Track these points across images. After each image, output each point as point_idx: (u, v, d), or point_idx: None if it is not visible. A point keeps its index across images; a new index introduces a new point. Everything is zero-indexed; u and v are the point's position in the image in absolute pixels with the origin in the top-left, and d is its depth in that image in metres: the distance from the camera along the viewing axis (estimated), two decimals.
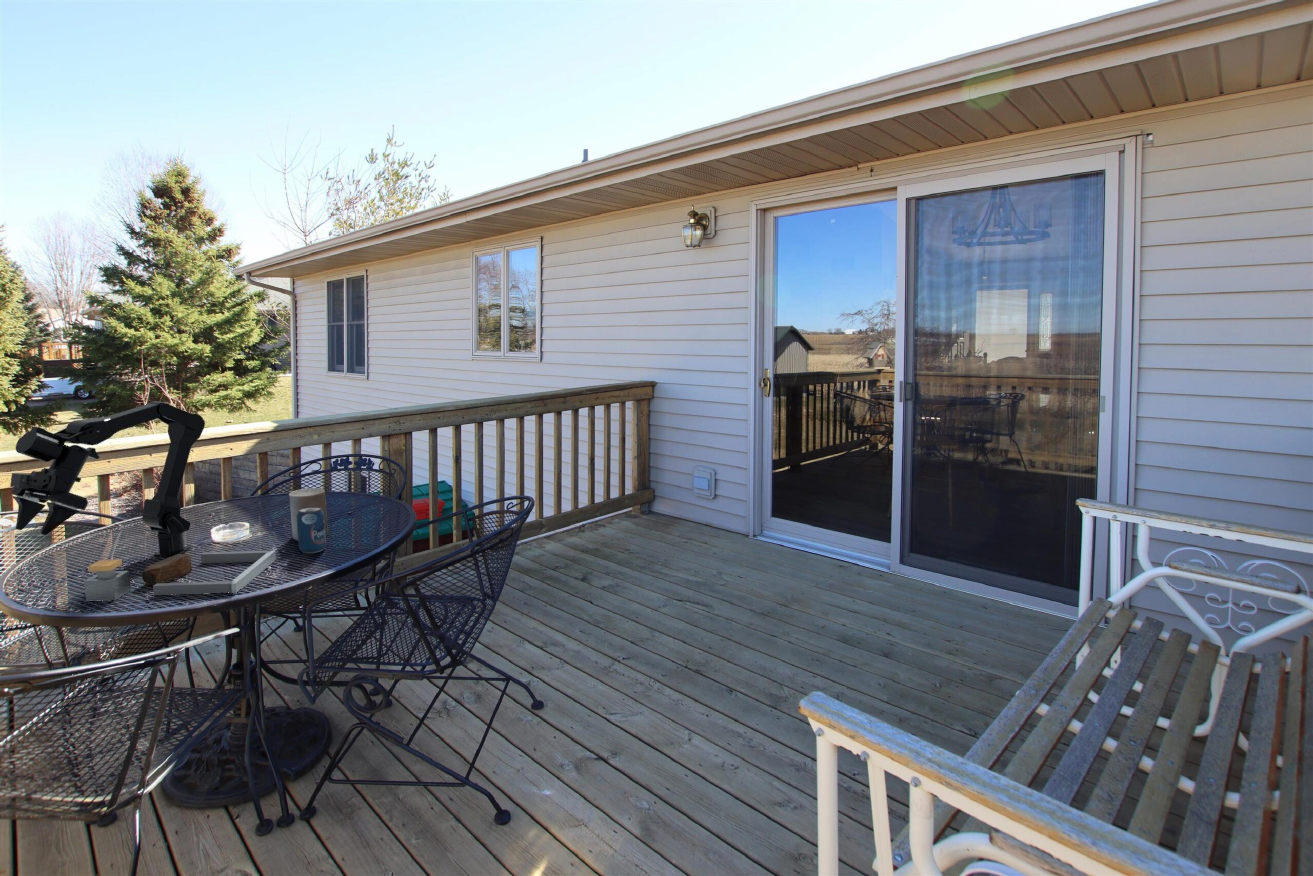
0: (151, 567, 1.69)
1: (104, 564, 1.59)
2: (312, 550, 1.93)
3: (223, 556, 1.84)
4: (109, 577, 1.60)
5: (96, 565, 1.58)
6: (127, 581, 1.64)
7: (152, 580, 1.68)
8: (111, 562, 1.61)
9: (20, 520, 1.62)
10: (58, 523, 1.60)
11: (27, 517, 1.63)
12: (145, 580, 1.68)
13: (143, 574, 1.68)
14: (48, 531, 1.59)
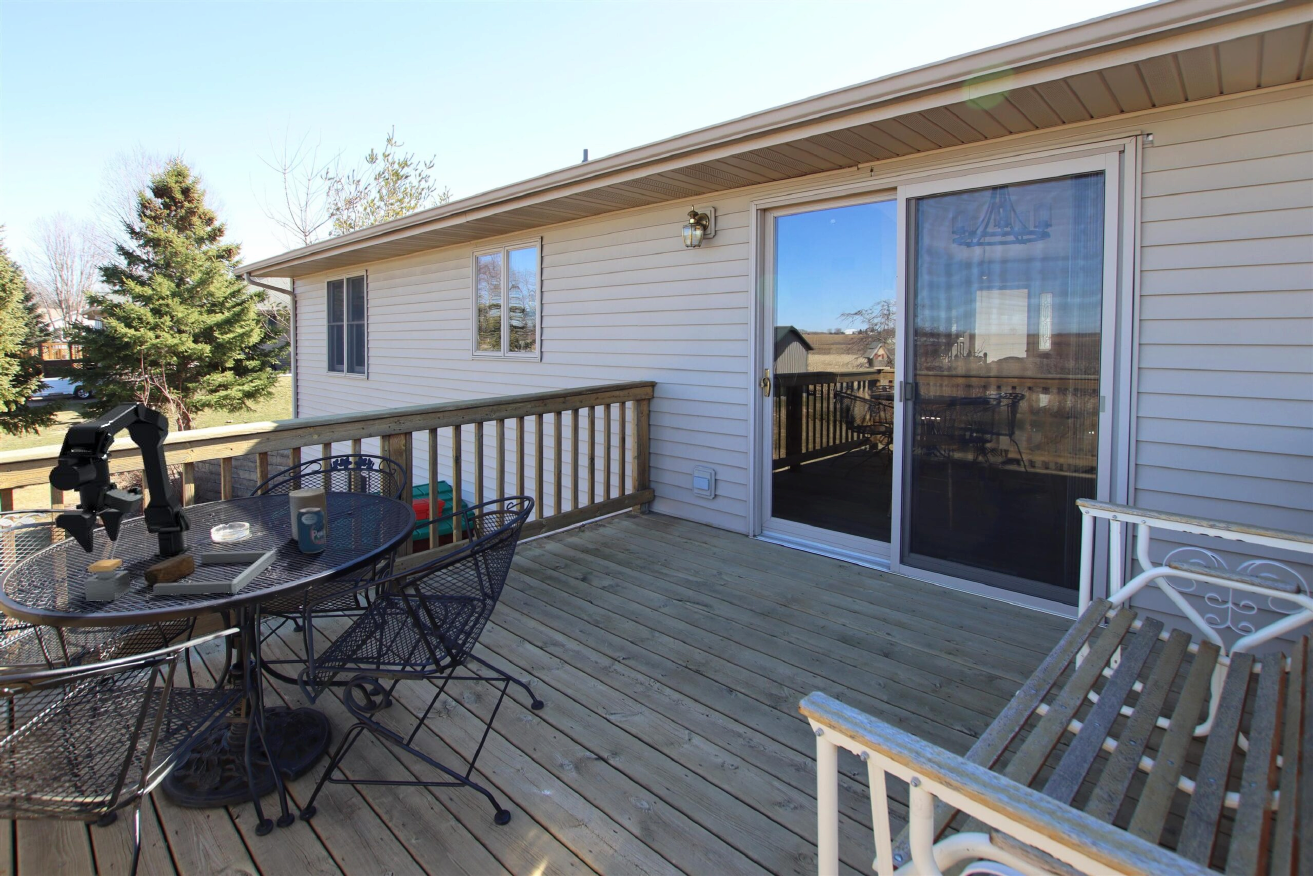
0: (153, 567, 1.68)
1: (104, 564, 1.59)
2: (312, 550, 1.93)
3: (223, 556, 1.84)
4: (109, 577, 1.60)
5: (96, 565, 1.58)
6: (127, 581, 1.64)
7: (154, 581, 1.68)
8: (111, 562, 1.61)
9: None
10: None
11: None
12: (147, 580, 1.68)
13: (145, 574, 1.68)
14: None
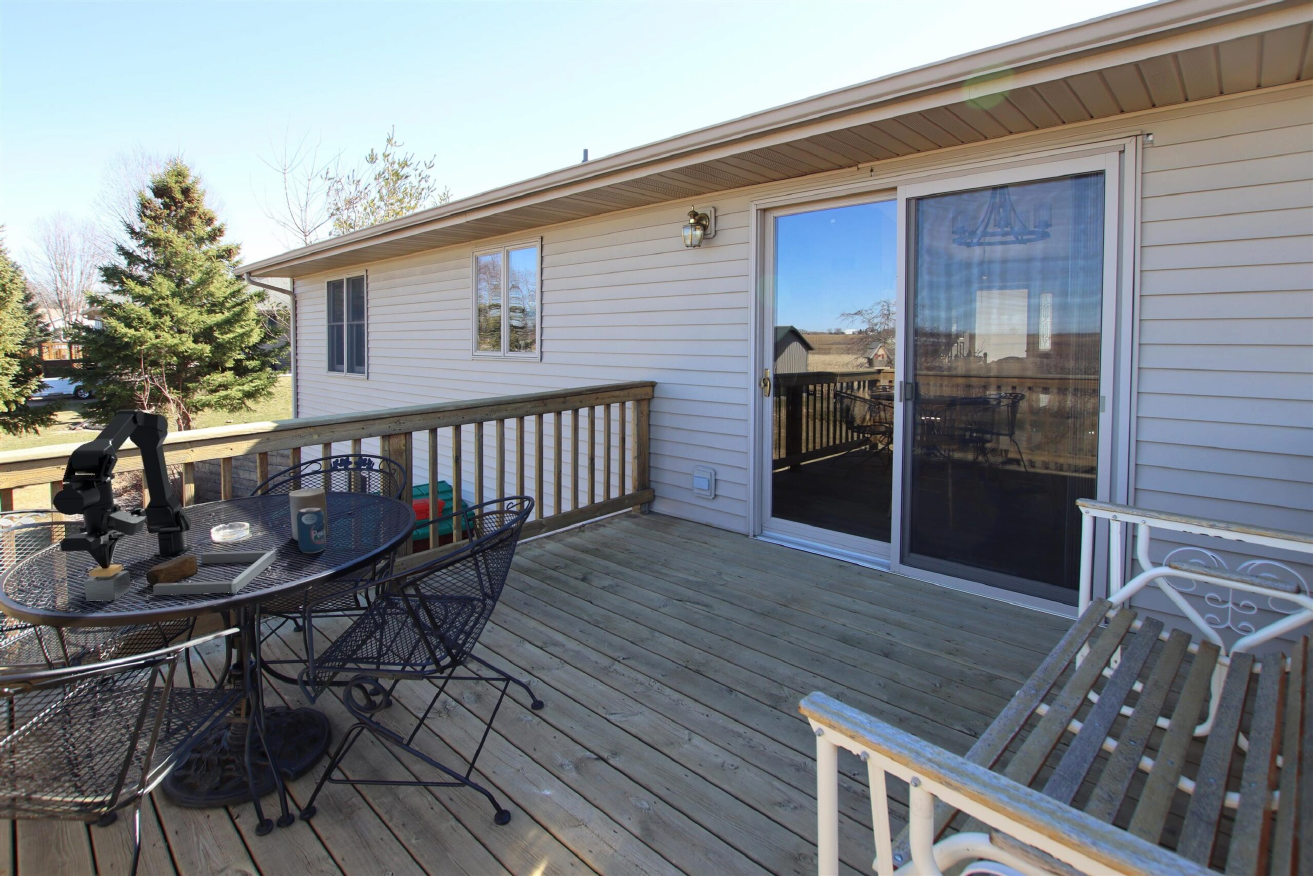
0: (155, 568, 1.68)
1: (105, 569, 1.60)
2: (312, 550, 1.93)
3: (223, 556, 1.84)
4: None
5: (97, 571, 1.59)
6: (127, 581, 1.64)
7: (155, 581, 1.67)
8: (112, 567, 1.61)
9: None
10: None
11: None
12: (149, 581, 1.68)
13: (147, 574, 1.68)
14: None
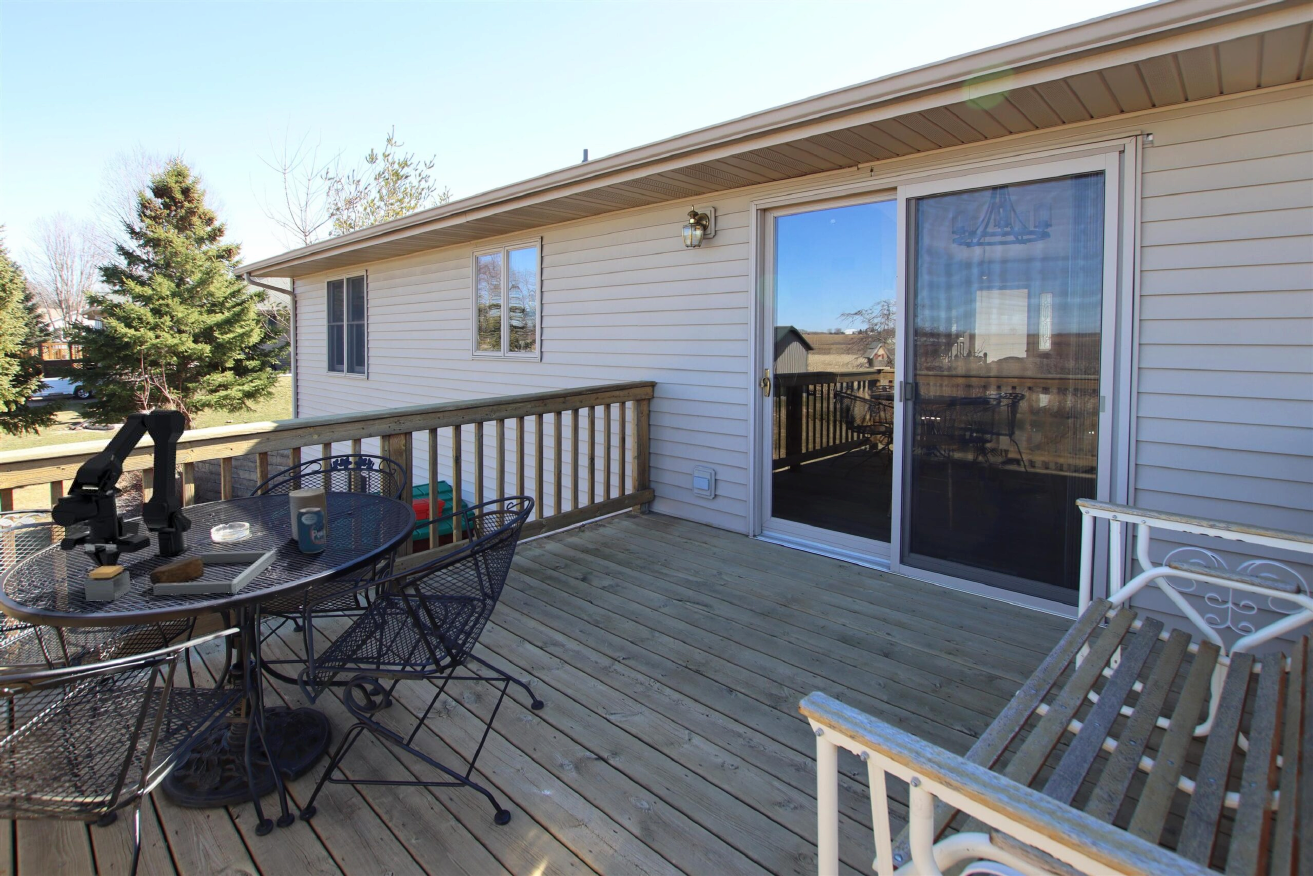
0: (158, 569, 1.67)
1: (105, 570, 1.60)
2: (312, 550, 1.93)
3: (223, 556, 1.84)
4: None
5: (97, 572, 1.59)
6: (127, 581, 1.64)
7: (157, 583, 1.66)
8: (112, 568, 1.61)
9: None
10: None
11: None
12: (152, 582, 1.67)
13: (150, 575, 1.67)
14: None
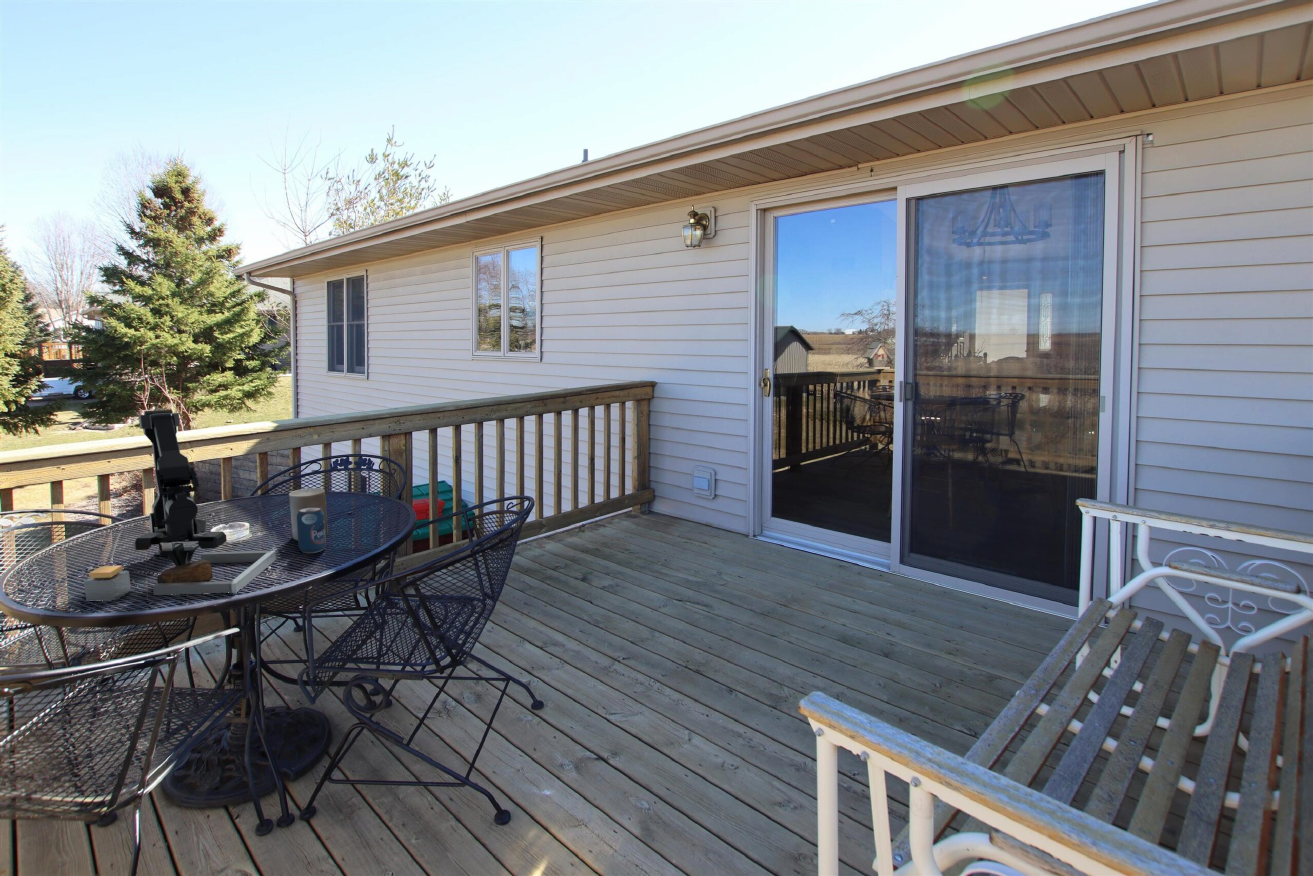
0: (165, 571, 1.66)
1: (105, 570, 1.60)
2: (312, 550, 1.93)
3: (223, 556, 1.84)
4: None
5: (97, 572, 1.59)
6: (127, 581, 1.64)
7: None
8: (112, 568, 1.61)
9: None
10: None
11: None
12: None
13: (157, 578, 1.66)
14: None
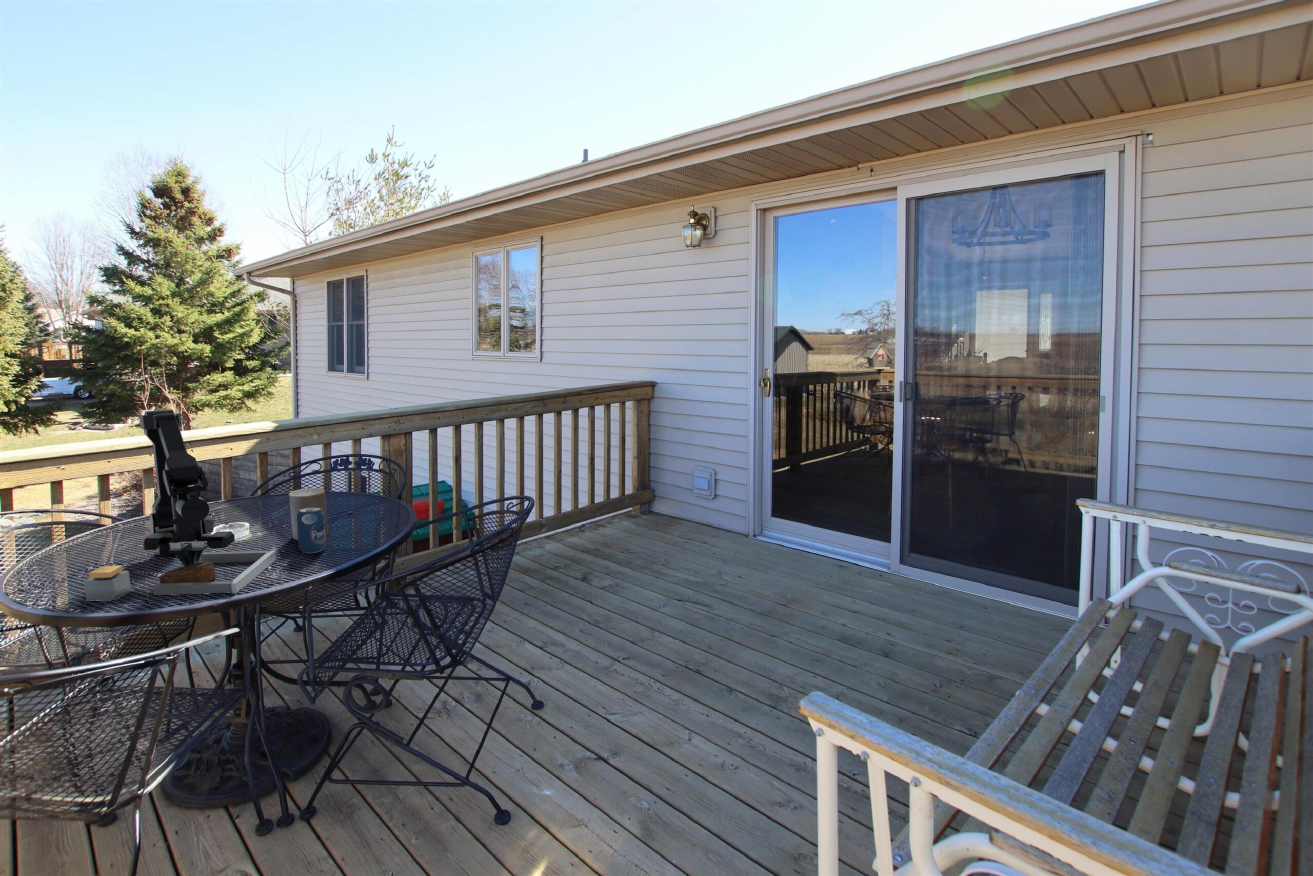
0: (167, 573, 1.65)
1: (105, 570, 1.60)
2: (312, 550, 1.93)
3: (223, 556, 1.84)
4: None
5: (97, 572, 1.59)
6: (127, 581, 1.64)
7: None
8: (112, 568, 1.61)
9: None
10: None
11: None
12: None
13: (160, 579, 1.65)
14: None
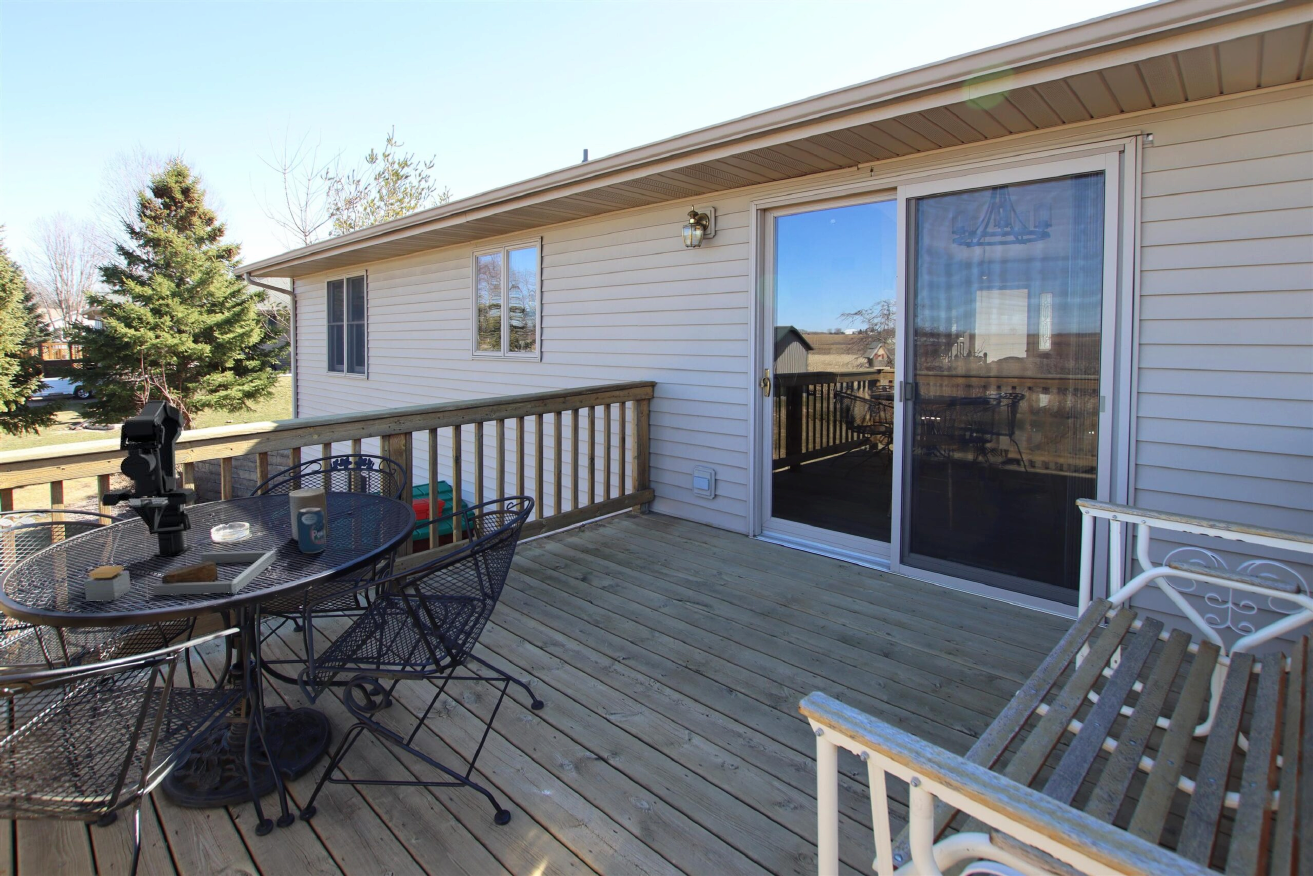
0: (169, 572, 1.65)
1: (105, 570, 1.60)
2: (312, 550, 1.93)
3: (223, 556, 1.84)
4: None
5: (97, 572, 1.59)
6: (127, 581, 1.64)
7: None
8: (112, 568, 1.61)
9: None
10: None
11: None
12: None
13: (162, 578, 1.65)
14: None
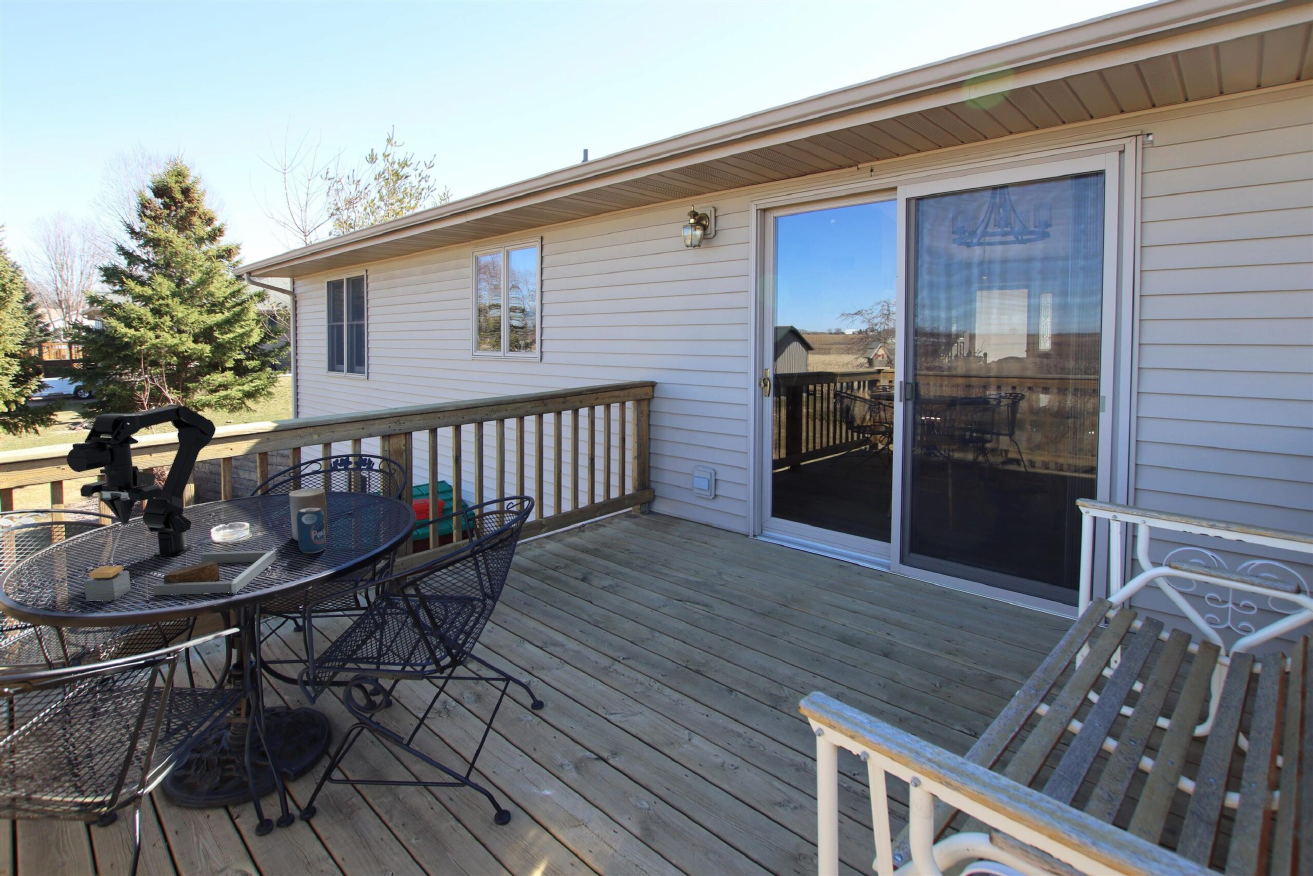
0: (171, 572, 1.65)
1: (105, 570, 1.60)
2: (312, 550, 1.93)
3: (223, 556, 1.84)
4: None
5: (97, 572, 1.59)
6: (127, 581, 1.64)
7: None
8: (112, 568, 1.61)
9: None
10: None
11: None
12: None
13: (164, 578, 1.65)
14: None
